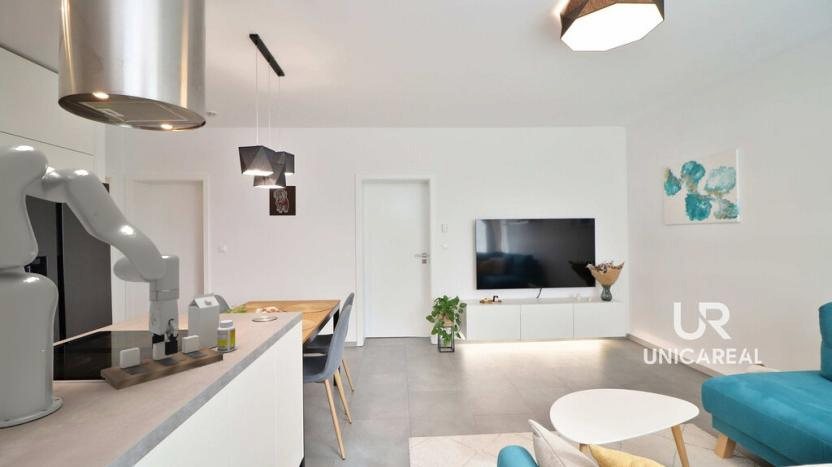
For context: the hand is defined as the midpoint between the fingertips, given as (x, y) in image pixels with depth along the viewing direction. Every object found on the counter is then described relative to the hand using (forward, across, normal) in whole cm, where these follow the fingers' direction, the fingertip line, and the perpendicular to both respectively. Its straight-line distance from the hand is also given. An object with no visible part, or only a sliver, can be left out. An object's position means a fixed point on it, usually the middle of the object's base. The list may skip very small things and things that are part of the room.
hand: (164, 351), depth 109 cm
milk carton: (+5, -10, +16) cm, 20 cm away
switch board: (+5, +2, 0) cm, 5 cm away
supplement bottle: (+5, 0, +19) cm, 20 cm away
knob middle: (+2, -1, 0) cm, 3 cm away
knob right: (+2, -1, +8) cm, 8 cm away
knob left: (+2, -2, -8) cm, 9 cm away
